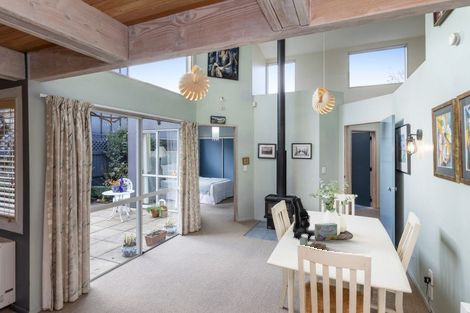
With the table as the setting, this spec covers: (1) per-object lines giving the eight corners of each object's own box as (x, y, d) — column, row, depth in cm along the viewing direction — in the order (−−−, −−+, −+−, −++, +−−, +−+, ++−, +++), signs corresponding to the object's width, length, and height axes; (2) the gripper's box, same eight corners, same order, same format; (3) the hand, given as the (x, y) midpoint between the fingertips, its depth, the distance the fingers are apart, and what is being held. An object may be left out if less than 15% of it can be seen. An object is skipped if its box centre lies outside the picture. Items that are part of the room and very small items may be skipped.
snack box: (317, 241, 240) (317, 225, 239) (314, 239, 245) (314, 223, 245) (337, 239, 244) (337, 223, 243) (334, 237, 249) (334, 222, 249)
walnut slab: (309, 248, 223) (309, 245, 223) (314, 244, 232) (314, 241, 232) (321, 251, 216) (321, 248, 216) (326, 247, 225) (326, 244, 225)
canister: (307, 235, 257) (307, 214, 256) (290, 232, 267) (290, 212, 266) (312, 230, 272) (312, 210, 271) (296, 227, 282) (296, 208, 281)
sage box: (299, 244, 231) (299, 237, 231) (302, 243, 235) (302, 236, 235) (304, 246, 228) (304, 239, 228) (307, 244, 232) (307, 237, 232)
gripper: (289, 224, 231) (290, 241, 232) (309, 228, 219) (309, 246, 220) (295, 221, 240) (295, 238, 240) (314, 225, 228) (314, 242, 228)
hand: (303, 241), depth 232 cm, fingers open, 9 cm apart
